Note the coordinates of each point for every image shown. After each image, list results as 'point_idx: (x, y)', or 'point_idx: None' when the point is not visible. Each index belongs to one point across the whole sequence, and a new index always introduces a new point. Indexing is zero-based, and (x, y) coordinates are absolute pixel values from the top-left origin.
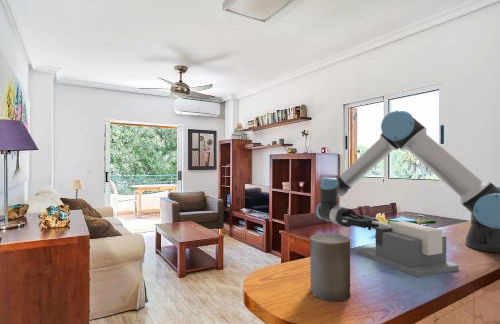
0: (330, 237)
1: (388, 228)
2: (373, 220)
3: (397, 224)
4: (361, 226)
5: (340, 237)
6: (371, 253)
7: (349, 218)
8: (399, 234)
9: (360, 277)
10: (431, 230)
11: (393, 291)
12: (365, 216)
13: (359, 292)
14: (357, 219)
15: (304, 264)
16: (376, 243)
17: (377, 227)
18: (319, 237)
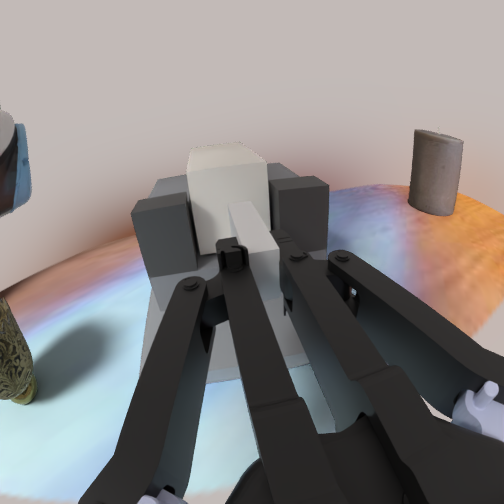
0: (438, 133)
1: (283, 179)
2: (239, 275)
3: (258, 156)
4: (357, 300)
5: (426, 132)
6: None
7: (467, 345)
8: (269, 178)
9: (391, 226)
10: (223, 144)
11: (351, 203)
12: (148, 495)
13: (396, 204)
14: (376, 359)
15: (496, 266)
16: (324, 244)
17: (321, 184)
18: (450, 136)
